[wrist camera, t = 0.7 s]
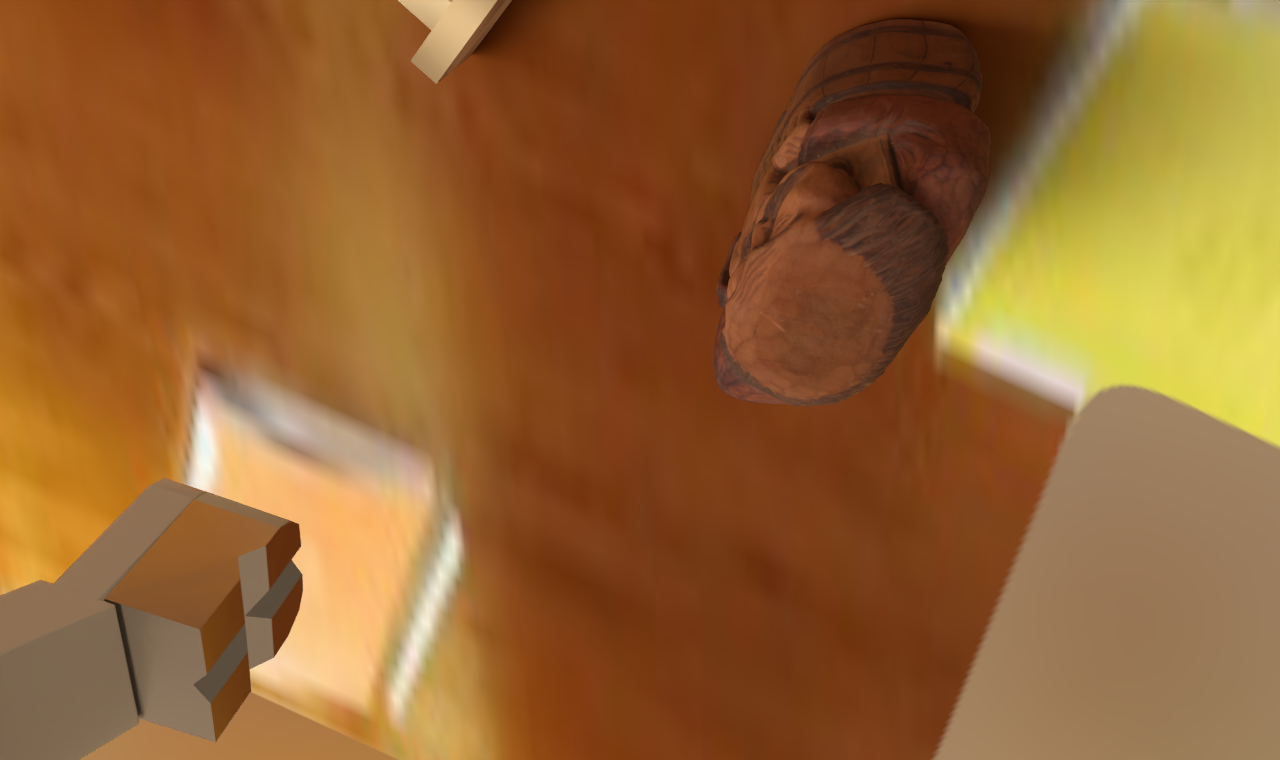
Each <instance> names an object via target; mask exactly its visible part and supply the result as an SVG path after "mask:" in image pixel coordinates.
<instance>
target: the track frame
mask: <svg viewBox="0 0 1280 760" xmlns="http://www.w3.org/2000/svg"><path fill="white" fill-rule="evenodd" d="M398 1H399V2H400V3H401V4H403V5H404V6H405V7H406V8H407V9H408V10H409V11H410V12H411V13H413V14H414V15H415V16H416V17H417V18H418V19H419V20H420V21H422V22H423V23H424V24H425V25H426V26H427V27H428V28H429V29H430V30H432V31H431V33H430V34H429V35H428V37H427V38H426V40H425V41H424V43H423V44H422V45H421V47H420V48H419V50H418V51H417V53H416V54H415V55H414V57H413V58H412V60H411V62H412V63H413V64H414V65H416V66H417V67H418V68H419V69H420V70H421V71H422V72H423V73H425V74H426V75H427V76H428V77H429V78H430V79H431V80H433V81H434V82H435V83H436V84H437V83H438V82H439V81H441V80H442V79H443V78H444V77H445V76H447V75H448V74H449V73H450V72H451V71H453V70H454V69H455V68H456V67H457V66H459V65H460V64H461V63H462V62H463V61H465V60H466V59H467V58H468V57H469V56H471V55H472V53H473V52H474V51H475V49H476V48H477V47H478V45H479V44H480V43H481V41H482V40H483V39H484V37H485V36H486V35H487V33H488V32H489V31H490V29H491V28H492V27H493V25H494V24H495V22H496V21H497V20H498V18H499V17H500V16H501V14H502V13H503V12H504V10H505V9H506V8H507V6H508V5H509V4H510V2H511V1H512V0H398Z"/></svg>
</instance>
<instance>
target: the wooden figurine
mask: <svg viewBox="0 0 1280 760" xmlns="http://www.w3.org/2000/svg"><path fill="white" fill-rule="evenodd" d="M982 85H983V80H982V73H981V66H980V61H979V57H978V54H977V52H976V50H975V49H974V48H973V46H972V44H971V43H970V41H969V39H968V38H967V37H966V36H965V35H964V34H963V33H962V32H961V31H960V30H958V29H957V28H955V27H954V26H951V25H949V24H945V23H940V22H935V21H925V20H911V19H892V20H885V21H881V22H877V23H872V24H868V25H864V26H860V27H857V28H855V29H852V30H850V31H848V32H846V33H844V34H842V35H840V36H838V37H836V38H835V39H833V40H831V41H830V42H828V43H827V44H826V45H825V46H824V47H823V48H822V49H821V50H820V51H818V52H817V53H816V54H815V55H814V56H813V58H812V59H811V60H810V62H809V63H808V65H807V67H806V68H805V70H804V71H803V73H802V76H801V78H800V80H799V83H798V85H797V87H796V90H795V92H794V94H793V96H792V99H791V101H790V103H789V105H788V108H787V110H786V111H785V112H784V113H783V115H782V116H781V118H780V119H779V121H778V124H777V126H776V128H775V131H774V135H773V136H772V138H771V141H770V143H769V145H768V147H767V149H766V151H765V153H764V155H763V156H762V158H761V161H760V164H759V167H758V169H757V171H756V173H755V175H754V178H753V183H752V188H751V199H750V202H749V212H748V215H747V218H746V221H745V223H744V226H743V229H742V231H741V232H740V233H739V234H738V235H737V236H736V237H735V238H734V240H733V242H732V245H731V247H730V250H729V253H728V256H727V259H726V262H725V264H724V268H723V270H722V272H721V274H720V276H719V279H718V284H717V288H716V293H717V295H718V297H719V305H720V306H721V307H723V308H724V310H723V313H722V315H721V318H720V321H719V325H718V329H717V334H716V340H715V350H714V366H715V376H716V381H717V383H718V385H719V387H720V388H721V390H722V391H723V392H725V393H726V394H728V395H730V396H733V397H735V398H738V399H741V400H745V401H748V402H755V403H768V404H790V405H793V406H800V405H803V406H813V405H825V404H835V403H837V402H840V401H842V400H846V399H849V398H850V397H851V396H853V395H854V394H857V393H860V392H861V391H863V390H864V389H865V388H867V386H869V385H871V384H873V383H874V382H875V380H876V378H877V377H879V376H880V375H882V374H883V373H884V371H885V369H886V367H887V366H888V365H889V364H890V363H891V362H892V361H893V359H894V358H895V357H896V355H897V353H898V352H899V351H900V349H901V348H902V347H903V345H904V344H905V342H906V341H907V340H908V338H909V337H910V335H911V334H912V333H913V332H914V330H915V329H916V328H917V326H918V325H919V324H920V323H921V322H922V320H923V319H924V318H925V317H926V315H927V314H928V312H929V310H930V308H931V304H932V301H933V299H934V297H935V295H936V293H937V290H938V287H939V285H940V283H941V281H942V274H943V272H944V269H945V266H946V264H947V262H948V261H949V259H950V257H951V255H952V254H953V252H954V251H955V249H956V248H957V246H958V245H959V243H960V242H961V240H962V238H963V237H964V235H965V233H966V231H967V229H968V227H969V225H970V223H971V221H972V218H973V216H974V213H975V212H976V210H977V208H978V206H979V204H980V202H981V200H982V198H983V196H984V193H985V190H986V187H987V184H988V181H989V155H990V148H991V133H990V130H989V127H988V126H987V125H986V124H985V123H984V122H983V121H982V120H981V119H980V118H979V117H978V116H977V115H975V114H974V112H975V110H976V108H977V106H978V103H979V99H980V96H981V95H980V94H981V89H982Z"/></svg>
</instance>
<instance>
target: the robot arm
mask: <svg viewBox="0 0 1280 760" xmlns="http://www.w3.org/2000/svg"><path fill="white" fill-rule="evenodd" d="M300 547H301V540H300V530H299V524H297V523H295V522H292V521H289V520H287V519H284V518H281V517H278V516H275V515H272V514H269V513H266V512H263V511H261V510H258V509H255V508H252V507H249V506H246V505H243V504H240V503H238V502H235V501H232V500H229V499H226V498H223V497H220V496H217V495H214V494H212V493H209V492H205V491H202V490H199V489H196V488H193V487H190V486H187V485H184V484H181V483H178V482H175V481H172V480H169V479H166V478H164V479H162V480H160V481H158V482H156V483H154V484H152V485H150V486H149V487H147V488H146V489H145V490H144V491H143V492H142V493H141V494H140V495H139V496H138V498H137V499H136V500H135V501H134V502H133V503H132V504H131V505H130V506H129V507H128V508H127V509H126V510H125V511H124V512H123V513H122V514H121V515H120V516H119V517H118V518H117V519H116V520H115V521H114V522H113V523H112V524H111V525H110V526H109V527H108V528H107V529H106V530H105V531H104V532H103V533H102V534H101V536H100V537H99V538H98V539H97V540H96V541H95V542H94V543H93V544H92V545H91V546H90V547H89V548H88V549H87V550H86V551H85V552H84V553H83V554H82V555H81V556H80V557H79V558H78V559H77V560H76V561H75V562H74V563H73V564H72V565H71V566H70V567H69V568H68V569H67V570H66V571H65V572H64V574H63V575H62V576H61V577H60V578H59V579H58V580H57V581H56V582H55V583H54V584H52V583H49V582H45V581H42V580H39V581H37V582H34V583H31V584H29V585H26V586H24V587H21V588H19V589H16V590H13V591H11V592H8V593H6V594H3V595H0V760H80V759H81V758H83V757H85V756H86V755H88V754H90V753H91V752H93V751H95V750H96V749H98V748H100V747H101V746H103V745H105V744H106V743H108V742H109V741H111V740H113V739H115V738H116V737H118V736H119V735H121V734H123V733H125V732H126V731H128V730H130V729H131V728H133V727H135V726H136V725H138V724H139V719H143V720H146V721H149V722H152V723H155V724H159V725H162V726H165V727H168V728H171V729H174V730H178V731H181V732H184V733H187V734H191V735H194V736H197V737H201V738H203V739H207V740H210V741H213V742H216V741H217V740H218V738H219V737H220V735H221V734H222V733H223V731H224V730H225V728H226V727H227V725H228V724H229V722H230V721H231V719H232V718H233V717H234V715H235V714H236V712H237V711H238V709H239V708H240V706H241V705H242V703H243V702H244V700H245V699H246V698H247V696H248V695H249V693H250V692H251V683H250V671H249V669H251V668H253V667H255V666H257V665H259V664H262V663H264V662H266V661H268V660H270V659H272V658H274V657H275V655H276V654H277V652H278V651H279V649H280V647H281V646H282V644H283V643H284V641H285V640H286V638H287V637H288V635H289V633H290V630H291V628H292V626H293V623H294V621H295V618H296V616H297V614H298V611H299V608H300V602H301V597H302V592H303V580H302V574H301V572H300V571H299V569H298V568H297V567H296V565H295V564H294V563H293V561H292V560H291V559H292V558H293V557H294V555H295V554H296V552H297V551H298V550H299V548H300Z"/></svg>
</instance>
